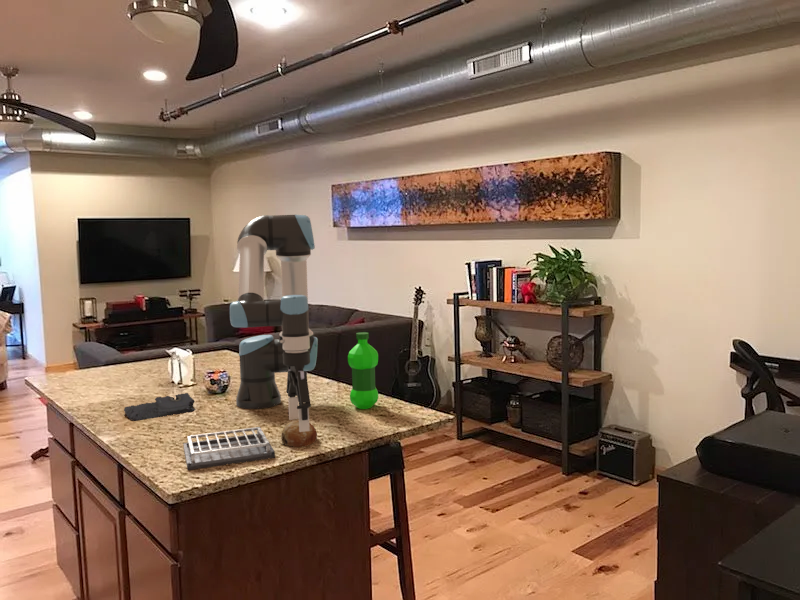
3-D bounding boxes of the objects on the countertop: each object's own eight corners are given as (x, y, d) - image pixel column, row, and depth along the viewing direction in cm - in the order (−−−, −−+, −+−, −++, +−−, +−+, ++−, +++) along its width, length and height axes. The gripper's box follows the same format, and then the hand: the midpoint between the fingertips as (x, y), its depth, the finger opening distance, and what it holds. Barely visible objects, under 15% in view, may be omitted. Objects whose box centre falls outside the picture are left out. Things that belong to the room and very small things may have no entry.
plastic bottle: (379, 402, 230) (377, 330, 227) (379, 410, 219) (377, 335, 217) (350, 403, 229) (347, 331, 227) (348, 411, 219) (346, 336, 216)
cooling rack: (183, 448, 185) (182, 435, 184) (263, 438, 193) (263, 425, 192) (187, 470, 168) (186, 455, 168) (275, 457, 176) (274, 443, 176)
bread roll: (280, 453, 191) (269, 431, 187) (305, 430, 197) (294, 409, 194) (302, 460, 184) (291, 438, 181) (327, 437, 190) (316, 414, 187)
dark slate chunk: (120, 413, 225) (119, 399, 224) (186, 402, 237) (185, 389, 236) (131, 423, 212) (130, 409, 212) (199, 411, 224) (199, 398, 224)
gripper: (274, 345, 197) (277, 415, 199) (292, 358, 174) (295, 438, 175) (299, 343, 199) (302, 413, 201) (320, 356, 176) (323, 434, 178)
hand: (299, 425), depth 188 cm, fingers open, 13 cm apart
